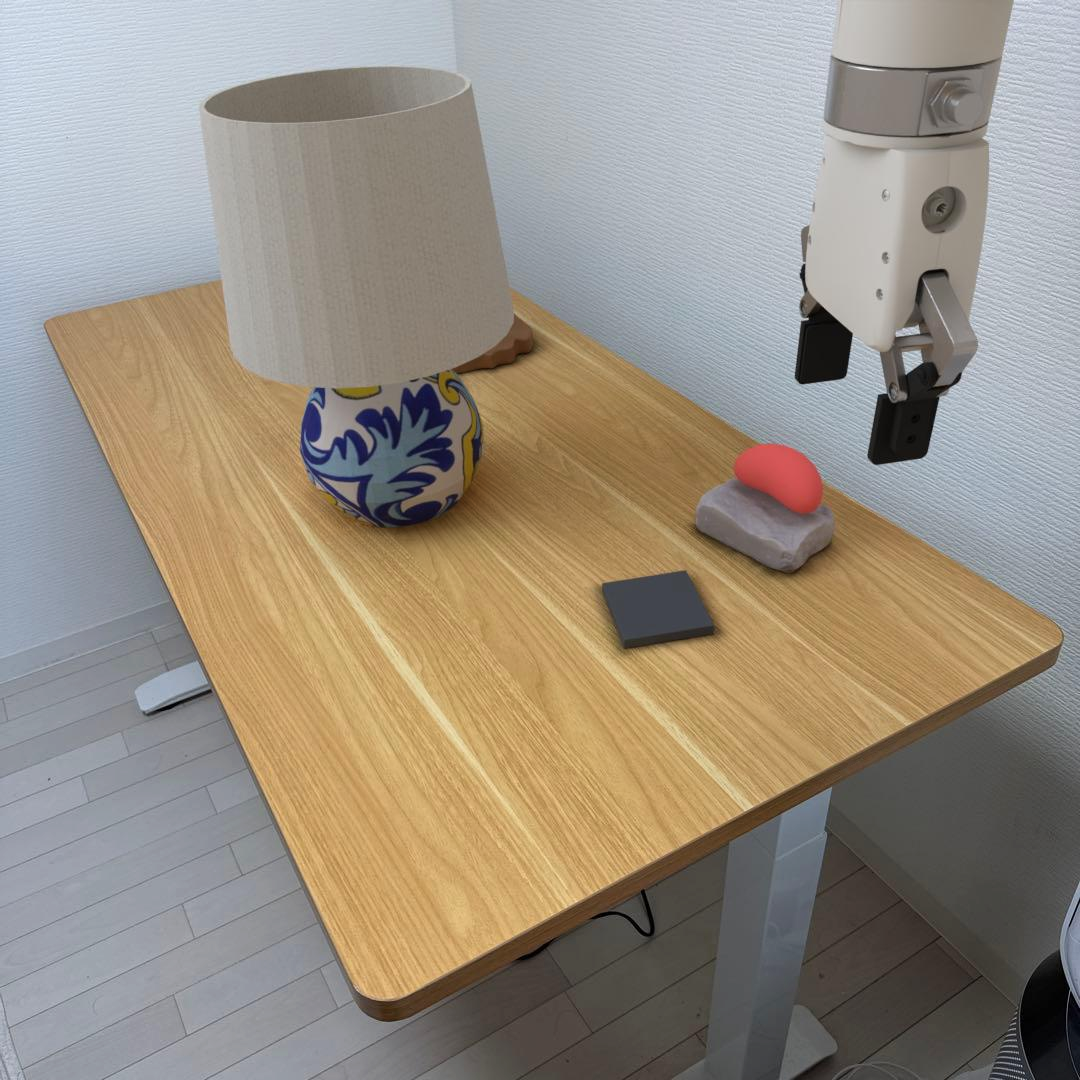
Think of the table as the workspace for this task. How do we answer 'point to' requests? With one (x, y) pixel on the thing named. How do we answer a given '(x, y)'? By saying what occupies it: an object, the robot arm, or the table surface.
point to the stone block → (763, 525)
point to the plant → (503, 348)
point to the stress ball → (781, 476)
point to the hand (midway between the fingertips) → (855, 416)
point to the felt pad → (656, 609)
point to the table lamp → (363, 272)
